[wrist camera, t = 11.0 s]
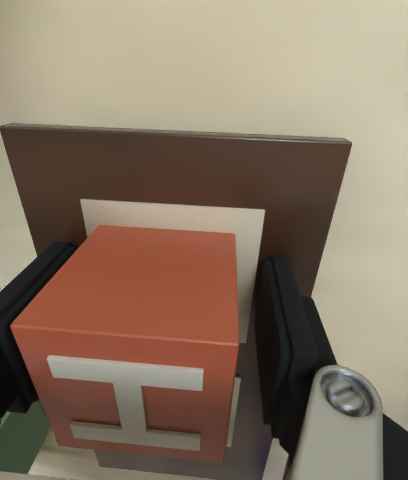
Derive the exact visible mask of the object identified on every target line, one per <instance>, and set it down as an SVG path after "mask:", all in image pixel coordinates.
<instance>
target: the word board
mask: <svg viewBox="0 0 408 480" xmlns="http://www.w3.org/2000/svg"><path fill="white" fill-rule="evenodd" d="M0 132H1V135H2V139H3V142H4V145H5V149H6V152H7V155H8V159H9V162H10V166H11V169H12V172H13V176H14V179H15V182H16V186H17V189H18V193H19V196H20V199H21V203H22V206H23V209H24V213H25V216H26V220H27V223H28V226H29V230H30V233H31V237H32V240H33V243H34V247H35V250H36V253H37V257H38V256H39V255H40V254H41V253H42V252H43V251H44V250H45V249H47V248H48V247H49V246H50V245H51V244H52V243H53V242H71V243H73V244H74V246H75V247H78V248H79V247H80V246H81V245H82V243H83V242H84V241H85V240H86V239H87V238H88V237H89V236H90V234H91V233H92V232H93V231H94V230H95V229H96V228H97V227H98V225H109V226H125V227H141V228H157V229H173V230H189V231H205V232H221V233H234V234H235V235H236V259H237V289H238V320H239V351H238V359H237V367H236V375H235V382H234V390H233V398H232V406H231V414H230V422H229V429H228V437H227V445H226V453H225V461H224V463H217V462H207V461H198V460H188V459H179V458H170V457H160V456H151V455H141V454H132V453H122V452H113V451H103V450H95V453H96V456H97V459H98V463H99V466H101V467H110V468H119V469H128V470H137V471H146V472H156V473H165V474H174V475H183V476H192V477H201V478H210V479H220V480H262V476H263V472H264V469H265V465H266V461H267V457H268V454H269V450H270V446H271V443H272V439H273V438H272V435H271V426H270V425H266V424H264V421H263V412H262V402H261V392H260V381H259V371H258V361H257V350H256V340H255V330H254V320H255V313H256V306H257V300H258V293H259V287H260V280H261V274H262V267H263V262H264V260H269V259H270V256H282V257H288V259H289V262H290V265H291V268H292V271H293V274H294V278H295V281H296V284H297V287H298V290H299V293H300V296H303V297H311V294H312V291H313V287H314V283H315V280H316V276H317V272H318V268H319V265H320V261H321V257H322V254H323V250H324V246H325V243H326V239H327V235H328V231H329V228H330V224H331V220H332V217H333V213H334V209H335V205H336V202H337V198H338V194H339V191H340V187H341V183H342V180H343V176H344V172H345V168H346V165H347V161H348V157H349V154H350V150H351V146H352V142H350V141H348V140H347V139H345V138H327V137H304V136H282V135H260V134H237V133H215V132H193V131H171V130H148V129H126V128H104V127H82V126H59V125H37V124H15V123H11V124H7V125H2V126H0Z"/></svg>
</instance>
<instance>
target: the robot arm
mask: <svg viewBox="0 0 408 480" xmlns="http://www.w3.org/2000/svg"><path fill="white" fill-rule="evenodd" d="M77 249H78V247H75V246H74V244H73V243H71V242H53V243H52V244H51V245H50V246H49V247H48V248H47V249H45V250H44V251H43V252H42V253H41V254H40V255H39V256H38V257H37V258H36V259H35V260H34V261H33V262H32V263H30V264H29V265H28V266H27V267H26V268H25V269H24V270H23V271H22V272H21V273H20V274H19V275H18V276H17V277H16V278H14V279H13V280H12V281H11V282H10V283H9V284H8V285H7V286H6V287H5V288H4V289H3V290H2V291H1V292H0V426H1V422H2V418H3V417H4V415H5V414H6V412H7V411H8V412H16V413H27V411H28V410H29V408H30V406H31V405H32V403H33V402H36V401H38V400H39V396H38V394H37V392H36V389H35V387H34V384H33V382H32V379H31V377H30V374H29V372H28V370H27V367H26V365H25V362H24V360H23V357H22V355H21V352H20V350H19V347H18V345H17V343H16V340H15V338H14V335H13V333H12V330H11V328H10V326H11V324H12V322H13V321H14V320H15V319H16V318H17V317H18V316H19V315H20V313H21V312H22V311H23V310H24V309H25V308H26V307H27V306H28V304H29V303H30V302H31V301H32V300H33V299H34V298H35V297H36V295H37V294H38V293H39V292H40V291H41V290H42V289H43V287H44V286H45V285H46V284H47V283H48V282H49V281H50V280H51V278H52V277H53V276H54V275H55V274H56V273H57V272H58V271H59V269H60V268H61V267H62V266H63V265H64V264H65V263H66V262H67V260H68V259H69V258H70V257H71V256H72V255H73V254H74V253H75V251H76V250H77ZM254 330H255V340H256V350H257V361H258V371H259V381H260V392H261V402H262V412H263V421H264V424H266V425H270V426H271V435H272V438H278V439H279V442H280V445H281V446H282V448H283V449H284V450H285V451H286V452H287V453H288V454H289V455H288V459H287V463H286V468H285V472H284V476H283V480H408V432H407V431H406V430H405V429H403V428H402V427H401V426H399V425H398V424H397V423H395V422H394V421H393V420H391V419H390V418H389V417H387V416H386V415H385V414H383V413H382V403H381V398H380V396H379V394H378V392H377V391H376V389H375V388H374V386H373V385H372V384H371V383H370V382H369V381H368V380H367V379H366V378H365V377H363V376H362V375H361V374H359V373H358V372H356V371H354V370H352V369H350V368H347V367H344V366H340V365H337V362H336V360H335V357H334V354H333V352H332V349H331V346H330V344H329V341H328V338H327V336H326V333H325V330H324V328H323V325H322V322H321V319H320V317H319V314H318V311H317V309H316V306H315V303H314V301H313V299H312V298H311V297H303V296H300V293H299V290H298V287H297V284H296V281H295V278H294V274H293V271H292V268H291V265H290V262H289V259H288V257H282V256H270V259H269V260H264V262H263V267H262V274H261V280H260V287H259V293H258V300H257V306H256V313H255V320H254ZM0 480H76V479H67V478H57V477H48V476H39V475H30V474H21V473H12V472H3V471H0Z"/></svg>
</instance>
